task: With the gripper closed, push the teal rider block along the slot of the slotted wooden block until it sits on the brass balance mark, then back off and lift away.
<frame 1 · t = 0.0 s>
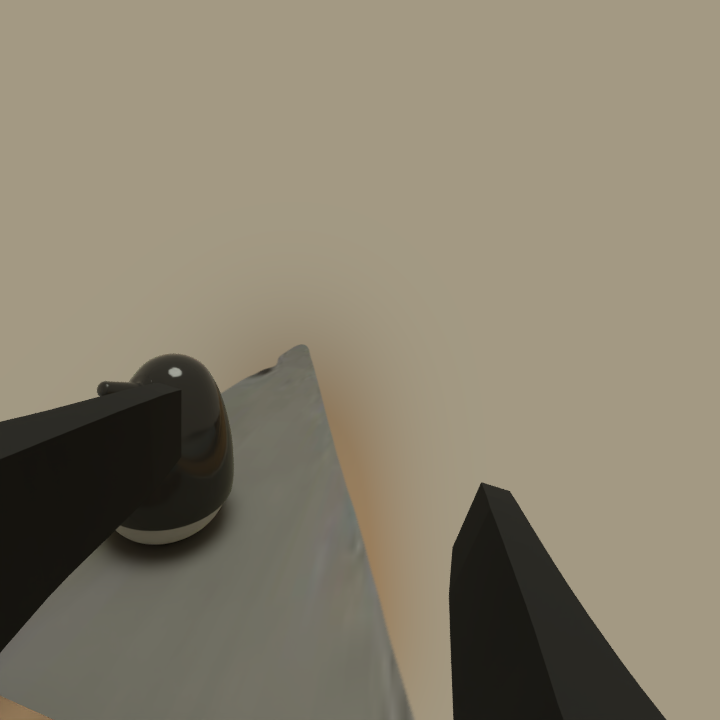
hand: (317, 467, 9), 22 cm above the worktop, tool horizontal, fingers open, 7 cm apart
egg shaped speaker: (165, 519, 33), on the worktop
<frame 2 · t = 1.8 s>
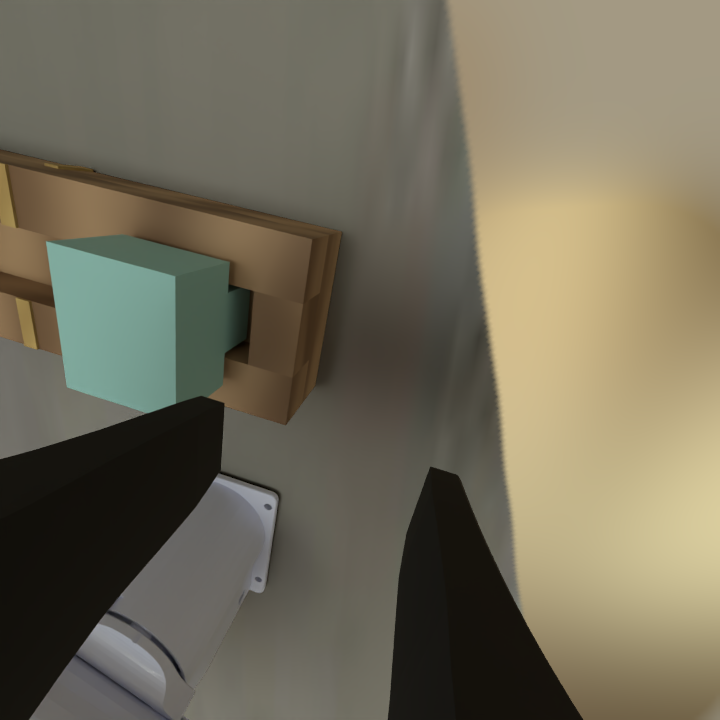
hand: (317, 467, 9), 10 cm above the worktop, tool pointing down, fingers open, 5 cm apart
slotted wooden block: (112, 257, 20), on the worktop
rider: (168, 316, 15), point 5 cm above the worktop, slide at -7.0 cm
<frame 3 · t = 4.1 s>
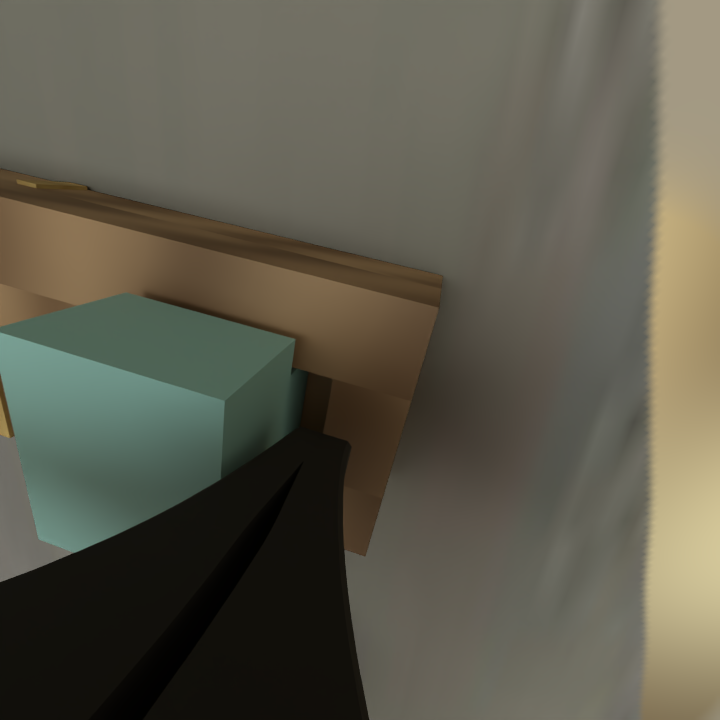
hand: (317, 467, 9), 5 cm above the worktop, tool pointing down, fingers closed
slotted wooden block: (114, 302, 15), on the worktop
rider: (196, 414, 10), point 5 cm above the worktop, slide at -6.9 cm, touching gripper
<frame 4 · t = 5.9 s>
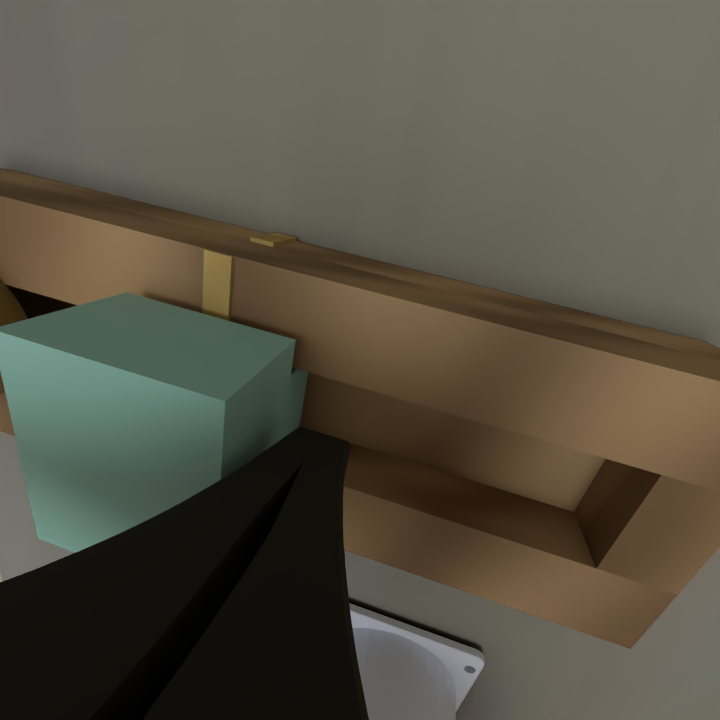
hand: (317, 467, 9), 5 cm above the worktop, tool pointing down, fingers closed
slotted wooden block: (299, 355, 14), on the worktop
rider: (196, 414, 10), point 5 cm above the worktop, slide at 0.9 cm, touching gripper
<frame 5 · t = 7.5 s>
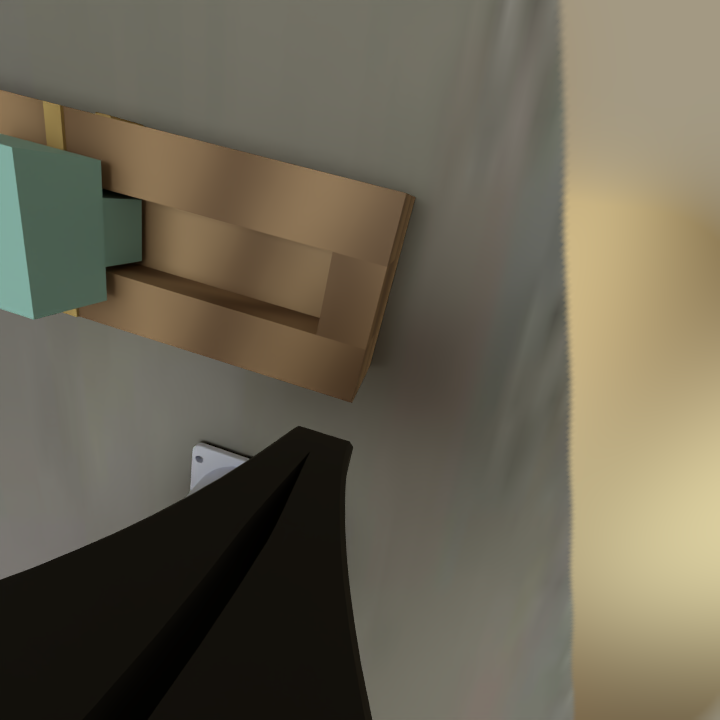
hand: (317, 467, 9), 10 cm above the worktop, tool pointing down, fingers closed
slotted wooden block: (156, 223, 19), on the worktop
rider: (43, 221, 14), point 5 cm above the worktop, slide at 0.9 cm
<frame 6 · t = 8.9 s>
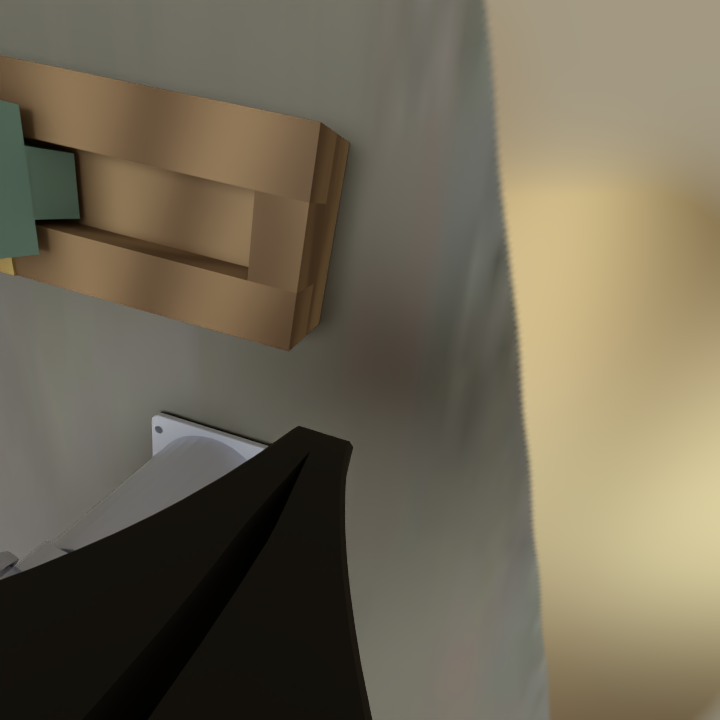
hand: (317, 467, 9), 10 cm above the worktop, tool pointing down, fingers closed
slotted wooden block: (99, 185, 18), on the worktop
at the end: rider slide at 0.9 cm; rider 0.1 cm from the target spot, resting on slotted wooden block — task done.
